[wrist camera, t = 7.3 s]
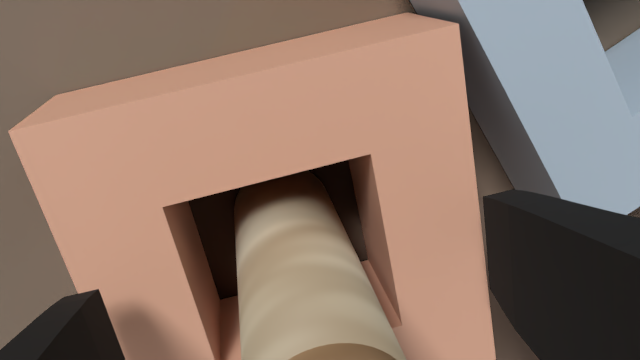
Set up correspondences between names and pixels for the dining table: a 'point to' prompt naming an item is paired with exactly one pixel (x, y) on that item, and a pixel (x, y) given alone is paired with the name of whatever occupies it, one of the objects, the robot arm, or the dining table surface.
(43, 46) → the dining table surface
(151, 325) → the pink square ring
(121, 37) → the dining table surface
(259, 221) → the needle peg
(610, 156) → the pale blue square ring
